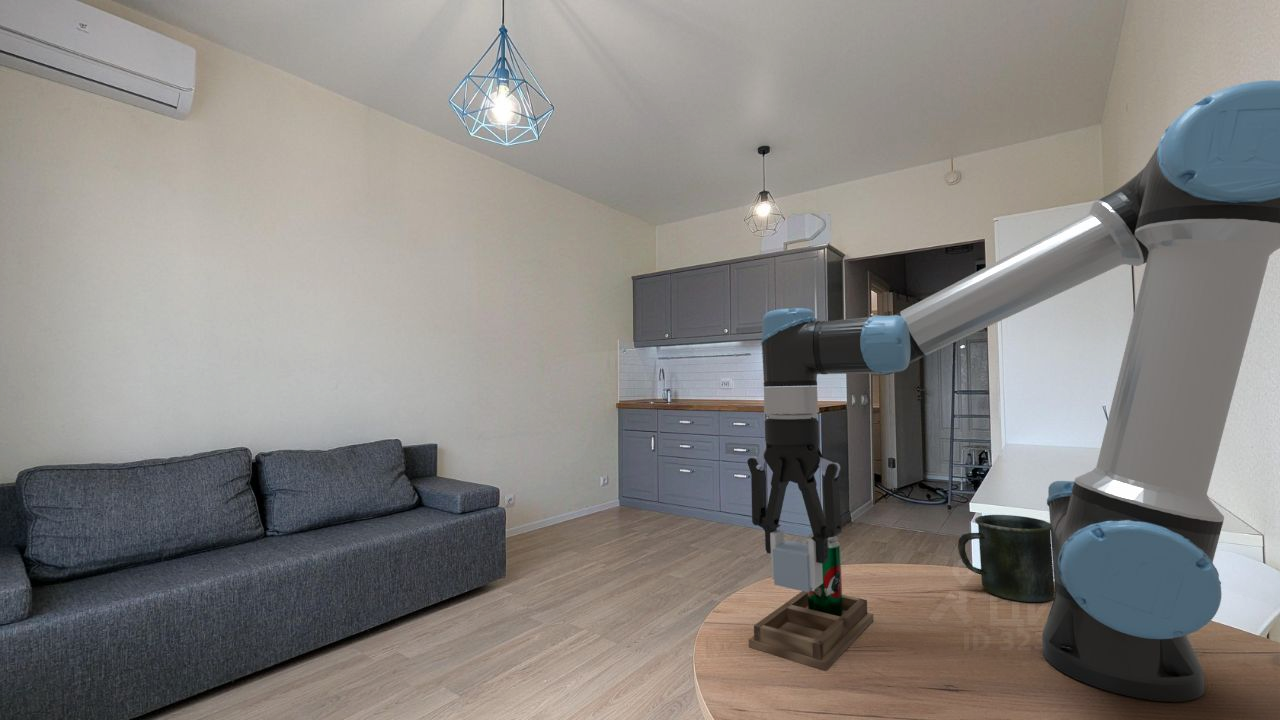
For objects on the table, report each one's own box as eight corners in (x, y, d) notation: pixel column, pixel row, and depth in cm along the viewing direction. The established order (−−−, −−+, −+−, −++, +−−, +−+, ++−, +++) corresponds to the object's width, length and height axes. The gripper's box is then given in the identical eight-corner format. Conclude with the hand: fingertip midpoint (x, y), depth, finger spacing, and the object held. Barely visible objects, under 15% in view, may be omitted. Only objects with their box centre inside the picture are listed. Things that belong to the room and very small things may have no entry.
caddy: (873, 620, 84) (872, 600, 84) (825, 670, 70) (824, 646, 70) (804, 604, 91) (804, 585, 91) (748, 646, 77) (748, 624, 77)
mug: (1074, 605, 88) (1068, 529, 88) (976, 603, 90) (971, 529, 90) (1034, 582, 98) (1030, 514, 99) (948, 580, 100) (944, 514, 101)
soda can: (845, 612, 85) (842, 534, 85) (840, 625, 80) (837, 543, 81) (812, 606, 87) (808, 530, 88) (805, 619, 83) (802, 539, 83)
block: (808, 592, 74) (806, 555, 75) (774, 584, 78) (772, 549, 78) (822, 581, 78) (820, 545, 78) (789, 574, 81) (787, 540, 82)
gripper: (863, 416, 76) (871, 587, 75) (748, 414, 88) (752, 562, 86) (844, 419, 70) (852, 604, 69) (723, 417, 82) (728, 575, 81)
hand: (797, 580), depth 78 cm, fingers closed on block, 5 cm apart
